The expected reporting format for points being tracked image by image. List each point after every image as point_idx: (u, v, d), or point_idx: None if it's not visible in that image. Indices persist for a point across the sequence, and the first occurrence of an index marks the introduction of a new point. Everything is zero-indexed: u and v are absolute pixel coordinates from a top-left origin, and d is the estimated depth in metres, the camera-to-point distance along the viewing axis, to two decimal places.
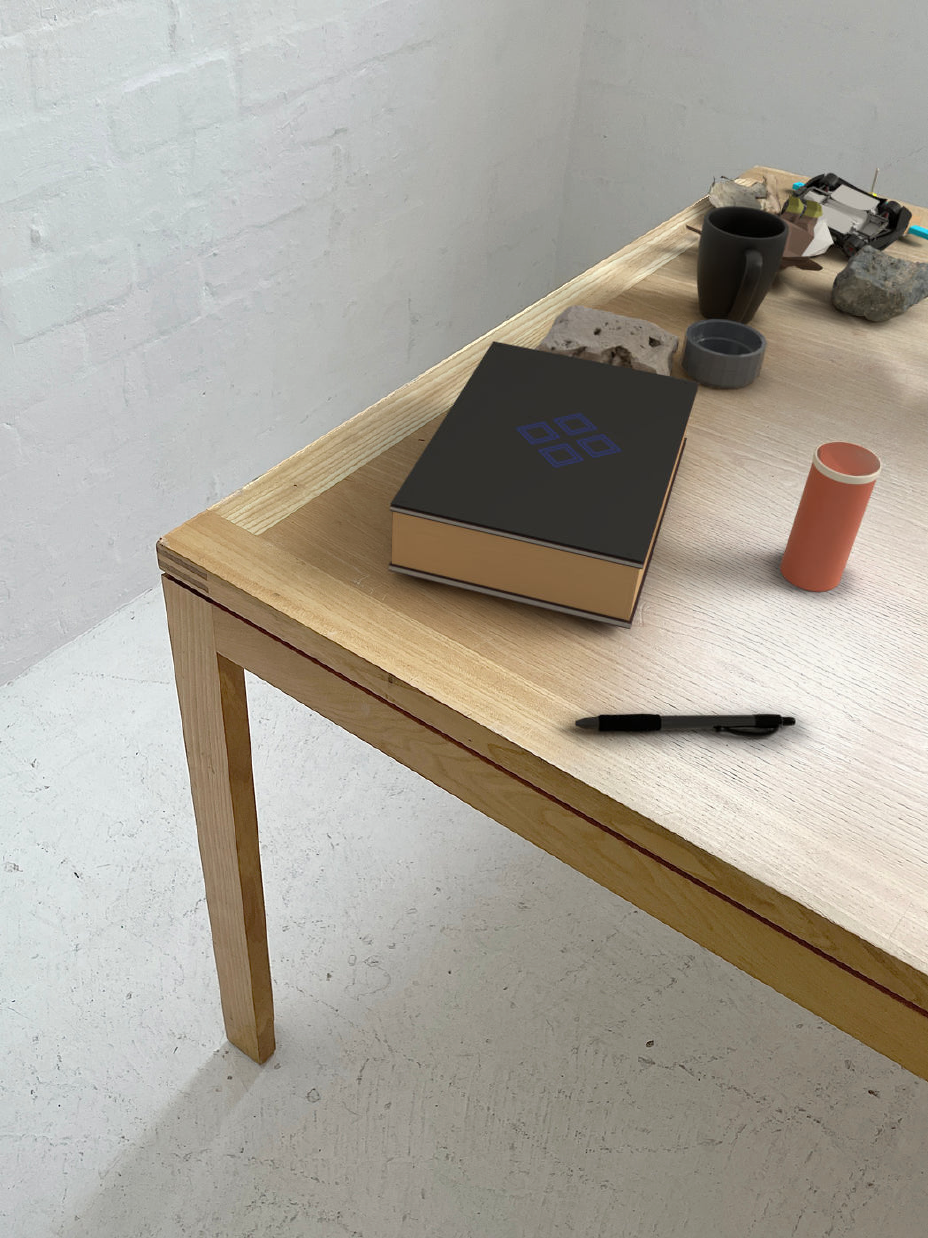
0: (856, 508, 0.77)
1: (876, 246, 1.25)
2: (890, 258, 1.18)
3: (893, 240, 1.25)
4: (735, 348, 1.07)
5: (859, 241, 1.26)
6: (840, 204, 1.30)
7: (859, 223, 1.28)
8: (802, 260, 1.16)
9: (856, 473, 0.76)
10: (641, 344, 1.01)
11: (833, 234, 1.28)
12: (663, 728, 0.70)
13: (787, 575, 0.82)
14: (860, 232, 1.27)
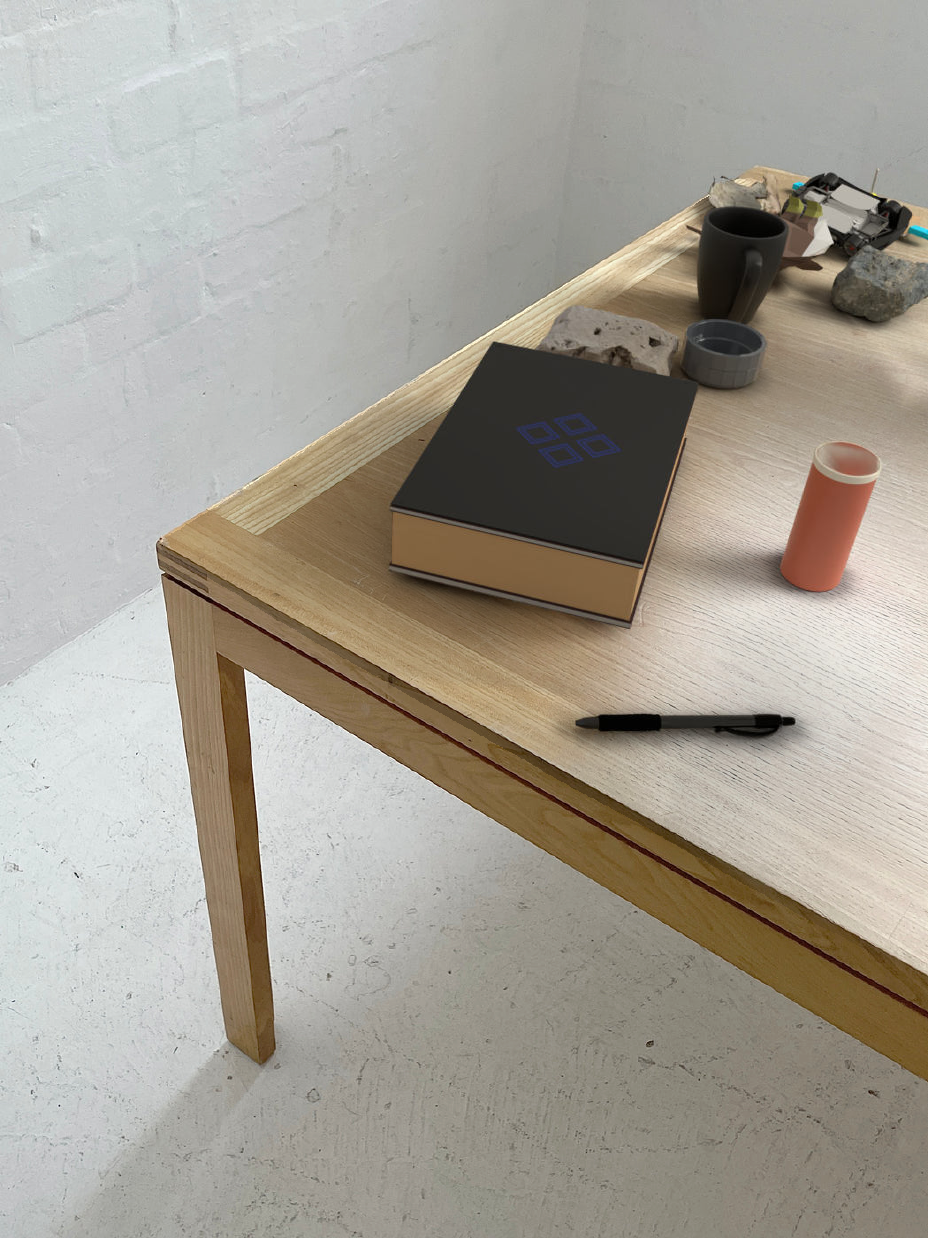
0: (856, 508, 0.77)
1: (877, 245, 1.25)
2: (890, 258, 1.18)
3: (894, 239, 1.25)
4: (735, 348, 1.07)
5: (860, 241, 1.26)
6: (840, 204, 1.30)
7: (859, 223, 1.28)
8: (802, 260, 1.16)
9: (856, 473, 0.76)
10: (641, 344, 1.01)
11: (833, 234, 1.28)
12: (663, 728, 0.70)
13: (787, 575, 0.82)
14: (860, 232, 1.27)
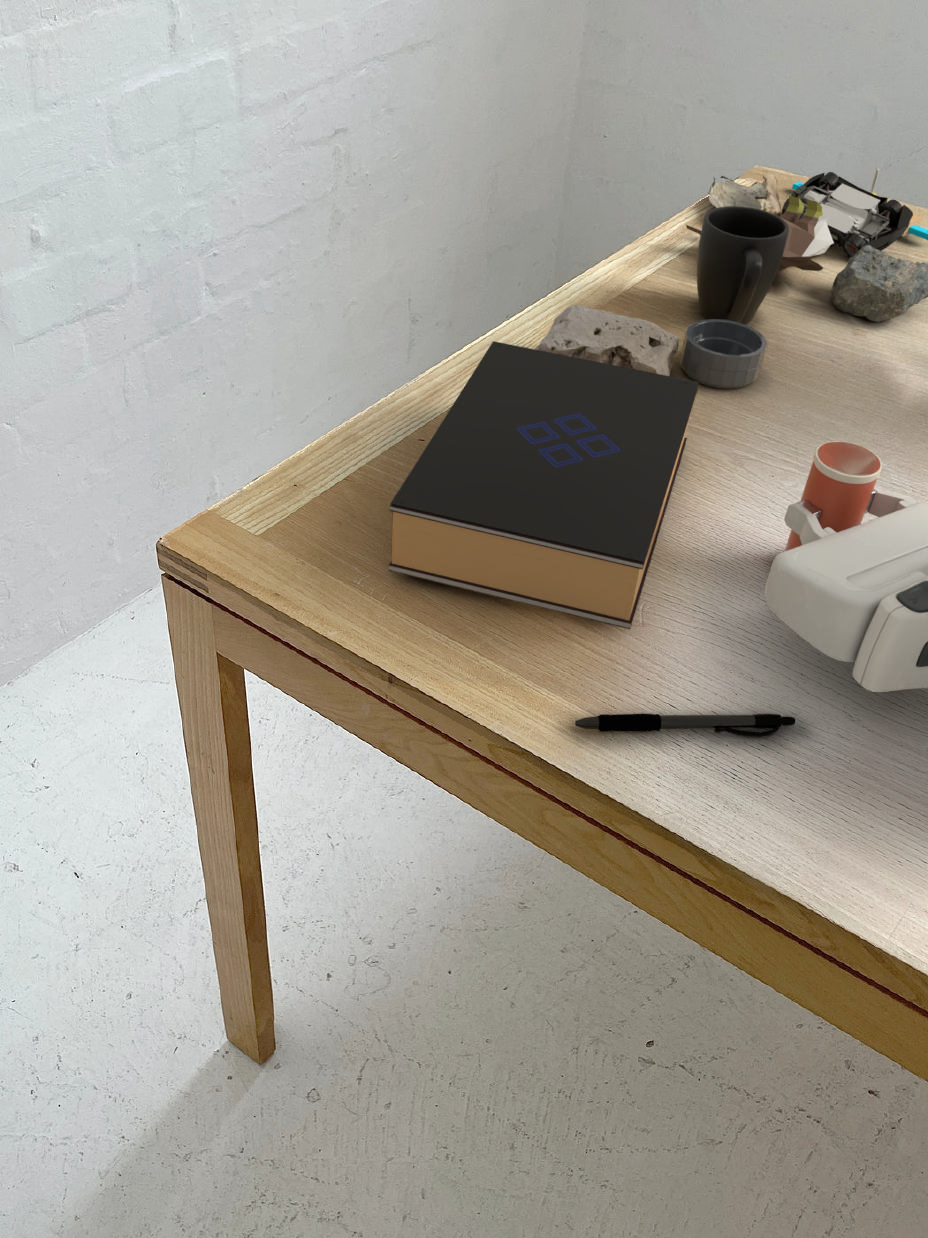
0: (856, 508, 0.77)
1: (878, 245, 1.25)
2: (890, 258, 1.18)
3: (894, 239, 1.25)
4: (735, 348, 1.07)
5: (860, 240, 1.26)
6: (840, 203, 1.30)
7: (860, 222, 1.28)
8: (802, 260, 1.16)
9: (856, 473, 0.76)
10: (641, 344, 1.01)
11: (834, 233, 1.28)
12: (663, 728, 0.70)
13: None
14: (861, 231, 1.27)
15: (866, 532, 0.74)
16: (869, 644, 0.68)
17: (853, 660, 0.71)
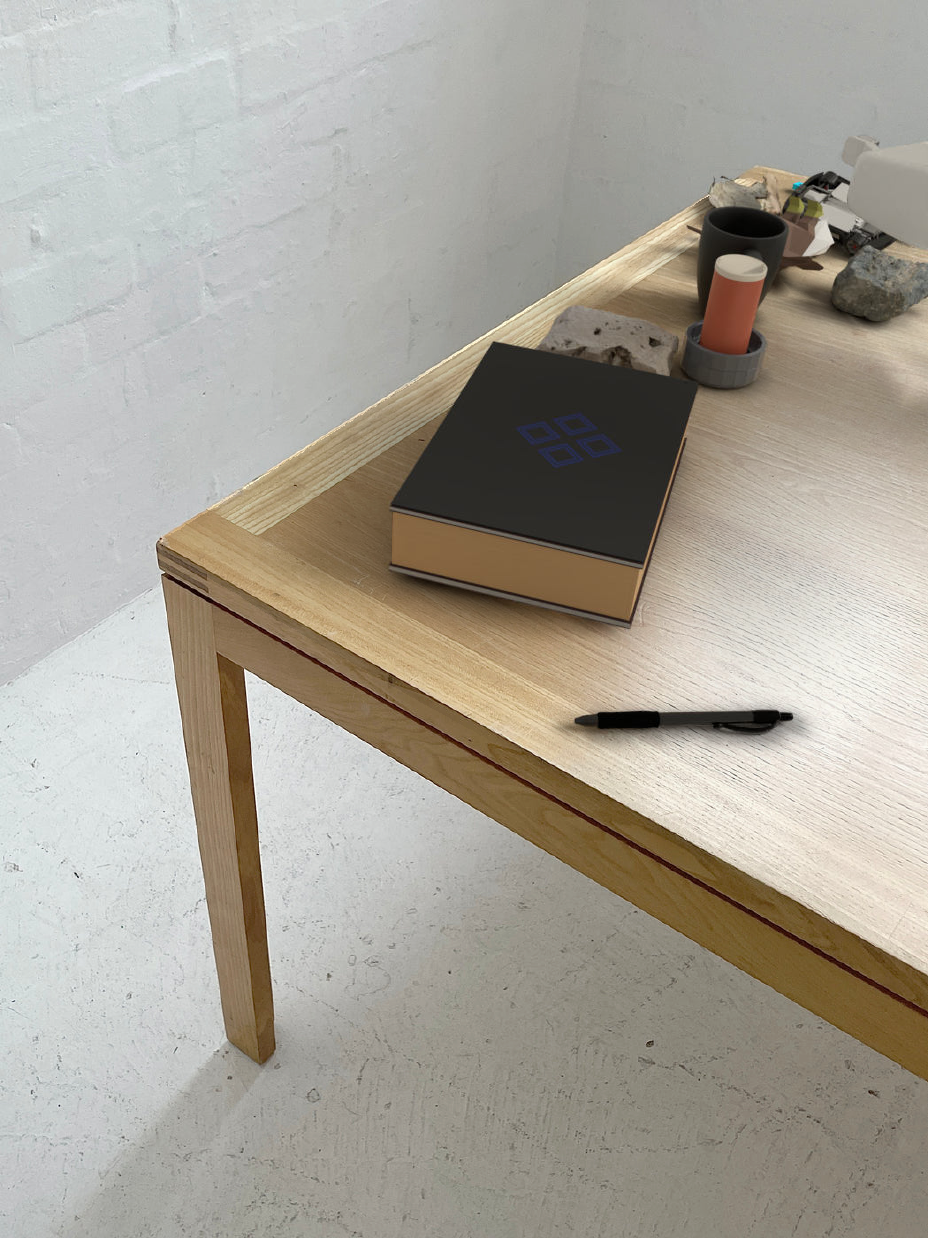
0: (748, 304, 0.99)
1: (880, 244, 1.25)
2: (890, 258, 1.18)
3: None
4: None
5: (863, 239, 1.26)
6: (841, 202, 1.30)
7: (861, 221, 1.28)
8: (803, 260, 1.16)
9: (746, 273, 0.98)
10: (641, 344, 1.01)
11: (836, 232, 1.28)
12: (662, 725, 0.70)
13: None
14: (863, 230, 1.28)
15: None
16: None
17: None
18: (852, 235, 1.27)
